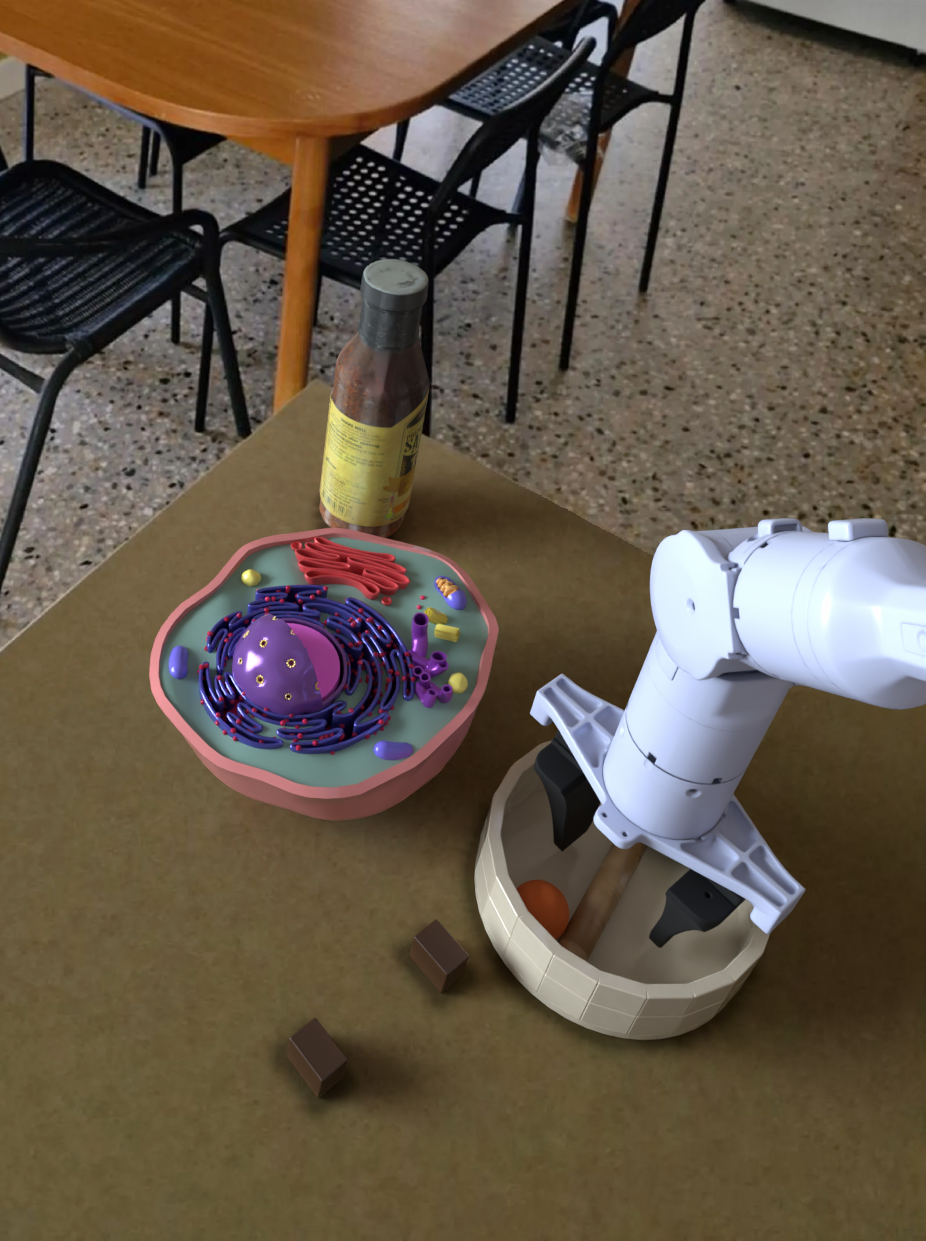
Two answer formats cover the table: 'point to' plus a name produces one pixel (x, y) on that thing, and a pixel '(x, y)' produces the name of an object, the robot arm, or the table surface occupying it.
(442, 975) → the stick rest
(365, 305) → the sauce bottle
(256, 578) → the cell model
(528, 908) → the orange ball
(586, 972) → the cream shallow round container
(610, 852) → the stick
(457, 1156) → the table surface
